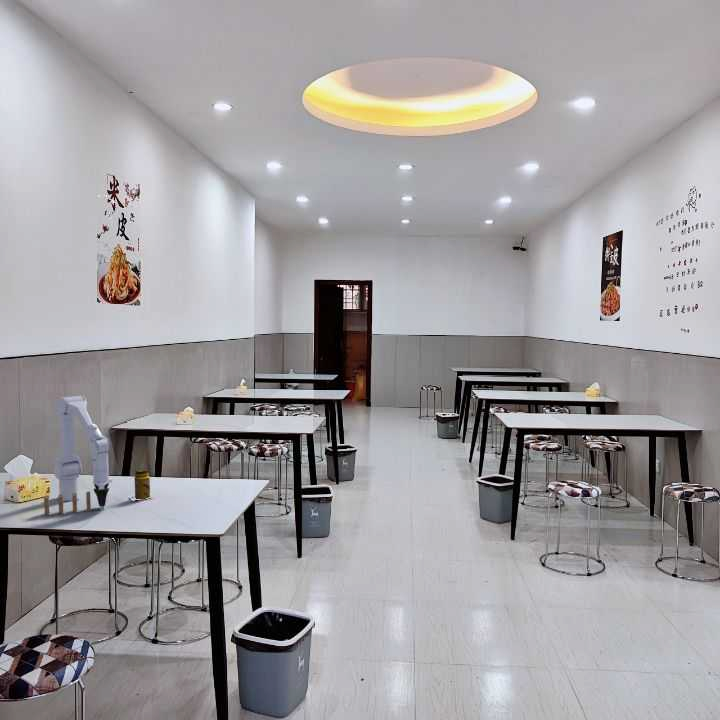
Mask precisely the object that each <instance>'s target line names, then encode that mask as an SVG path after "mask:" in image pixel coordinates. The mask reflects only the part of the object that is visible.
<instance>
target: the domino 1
mask: <svg viewBox="0 0 720 720" xmlns="http://www.w3.org/2000/svg"><path fill="white" fill-rule="evenodd" d="M43 504H44V505H43V507H44V517H49V516H50V513H51V512H50V494H48V495H44V498H43Z"/></svg>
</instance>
